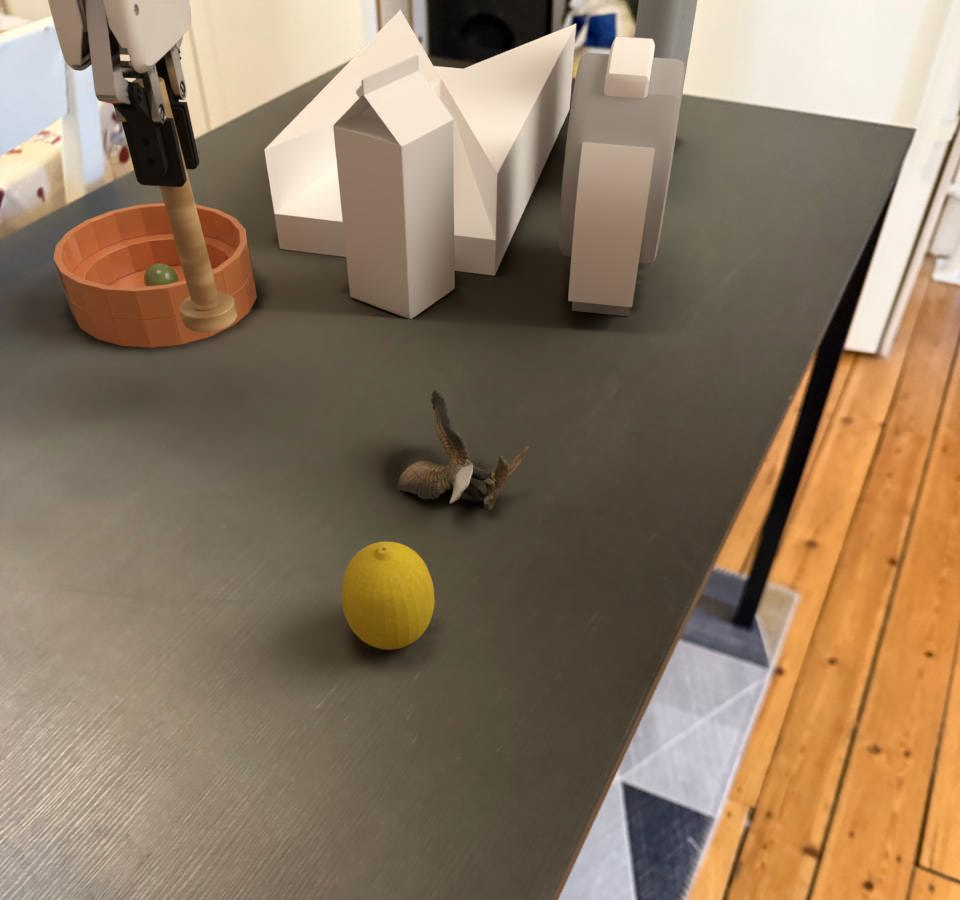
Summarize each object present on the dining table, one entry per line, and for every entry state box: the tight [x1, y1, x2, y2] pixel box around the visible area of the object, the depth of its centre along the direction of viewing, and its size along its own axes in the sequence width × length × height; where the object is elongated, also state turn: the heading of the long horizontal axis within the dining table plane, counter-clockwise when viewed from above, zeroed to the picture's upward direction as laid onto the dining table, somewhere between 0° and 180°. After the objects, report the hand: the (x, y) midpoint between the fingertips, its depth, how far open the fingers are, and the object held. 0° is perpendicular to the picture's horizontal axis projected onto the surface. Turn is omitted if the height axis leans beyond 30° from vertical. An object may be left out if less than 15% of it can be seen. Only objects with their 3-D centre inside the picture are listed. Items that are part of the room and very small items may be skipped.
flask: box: [633, 0, 698, 107], centre depth 96 cm, size 17×5×25 cm, turn 162°
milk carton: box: [333, 55, 456, 320], centre depth 79 cm, size 7×7×19 cm
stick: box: [131, 77, 237, 332], centre depth 63 cm, size 4×4×16 cm
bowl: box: [53, 202, 258, 349], centre depth 82 cm, size 16×16×6 cm
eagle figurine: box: [397, 389, 530, 510], centre depth 65 cm, size 8×7×9 cm
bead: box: [144, 263, 179, 286], centre depth 83 cm, size 3×3×3 cm
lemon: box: [340, 541, 436, 651], centre depth 55 cm, size 6×6×8 cm
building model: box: [263, 9, 577, 277], centre depth 102 cm, size 45×22×10 cm, turn 167°
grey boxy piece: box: [558, 36, 685, 317], centre depth 80 cm, size 18×8×20 cm, turn 170°
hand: (169, 173), depth 61 cm, fingers closed on stick, 2 cm apart
